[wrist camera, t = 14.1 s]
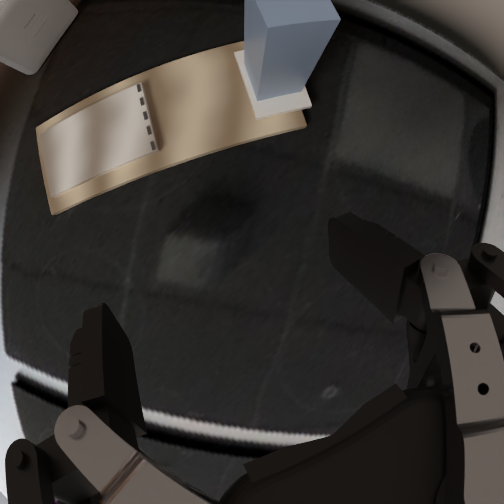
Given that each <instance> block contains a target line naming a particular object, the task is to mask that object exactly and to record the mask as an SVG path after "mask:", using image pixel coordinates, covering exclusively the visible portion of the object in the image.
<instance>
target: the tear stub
mask: <svg viewBox="0 0 504 504" xmlns="http://www.w3.org/2000/svg"><path fill="white" fill-rule="evenodd" d="M340 20H341V19H340V17H339V15H338V13H337V11H336V10H335V8H334V6H333V4H332V2H331V1H330V0H245V20H244V50H241V51H237V52H234V56H235V59H236V62H237V64H238V67H239V70H240V73H241V76H242V79H243V82H244V85H245V88H246V91H247V94H248V97H249V100H250V103H251V106H252V109H253V112H254V115H255V118H256V120H260V119H264V118H268V117H272V116H276V115H280V114H284V113H289V112H293V111H298V110H303V109H307V108H311V106H312V104H311V101H310V98H309V96H308V93H307V90H306V88H305V84H306V82H307V80H308V78H309V76H310V75H311V73H312V71H313V69H314V67H315V65H316V63H317V62H318V60H319V58H320V56H321V54H322V52H323V51H324V49H325V47H326V45H327V43H328V42H329V40H330V38H331V36H332V34H333V33H334V31H335V29H336V27H337V25H338V24H339V22H340Z"/></svg>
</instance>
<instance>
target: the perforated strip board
mask: <svg viewBox="0 0 504 504" xmlns="http://www.w3.org/2000/svg"><path fill="white" fill-rule="evenodd" d="M241 50H244V41H242V42H238V43H233V44H229V45H225V46H221V47H218V48H214V49H210V50H207V51H203V52H200V53H197V54H193V55H190V56H187V57H184V58H181V59H178V60H175V61H172V62H169V63H166V64H164V65H161V66H158V67H155V68H153V69H150V70H148V71H145V72H143V73H140V74H138V75H135V76H133V77H131V78H128V79H126V80H124V81H121V82H119V83H117V84H115V85H113V86H110V87H108V88H106V89H104V90H102V91H100V92H98V93H96V94H94V95H92V96H90V97H88V98H86V99H84V100H82V101H81V102H79V103H77V104H75V105H73V106H71V107H70V108H68V109H66V110H64V111H63V112H61V113H59V114H57V115H56V116H54V117H52V118H51V119H49V120H48V121H46V122H44V123H43V124H41V125H40V126H38V127H36V133H37V141H38V148H39V155H40V161H41V167H42V173H43V178H44V183H45V188H46V193H47V197H48V202H49V206H50V210H51V214H52V215H56V214H59V213H61V212H63V211H65V210H67V209H69V208H71V207H73V206H76V205H78V204H80V203H82V202H84V201H87V200H89V199H91V198H93V197H96V196H98V195H100V194H103V193H105V192H107V191H110V190H112V189H114V188H117V187H119V186H122V185H124V184H127V183H129V182H132V181H134V180H137V179H139V178H142V177H144V176H147V175H150V174H152V173H155V172H158V171H161V170H163V169H166V168H169V167H172V166H175V165H177V164H180V163H183V162H186V161H189V160H192V159H195V158H198V157H201V156H204V155H207V154H211V153H214V152H217V151H220V150H224V149H227V148H230V147H234V146H237V145H241V144H244V143H248V142H251V141H255V140H259V139H262V138H266V137H270V136H274V135H278V134H282V133H286V132H290V131H294V130H298V129H303V128H305V127H306V126H307V124H306V121H305V119H304V116H303V113H302V110H298V111H293V112H289V113H284V114H280V115H276V116H272V117H268V118H264V119H260V120H256V118H255V115H254V112H253V109H252V106H251V103H250V100H249V97H248V94H247V91H246V88H245V85H244V82H243V79H242V76H241V73H240V70H239V67H238V64H237V62H236V59H235V56H234V52H237V51H241Z"/></svg>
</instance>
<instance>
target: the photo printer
mask: <svg viewBox="0 0 504 504" xmlns="http://www.w3.org/2000/svg"><path fill="white" fill-rule="evenodd" d="M77 14H78V10H77V9H76V8H75V7H74V5H73V4H72V3H71V2H70V1H69V0H0V62H2V63H4V64H6V65H8V66H10V67H12V68H14V69H16V70H18V71H20V72H22V73H24V74H27V75H32V74H34V73H36V72H37V71H38V70H39V68H40V67H41V66H42V64H43V63H44V61H45V60H46V58H47V57H48V55H49V54H50V52H51V51H52V49H53V48H54V46H55V45H56V43H57V42H58V41H59V39H60V38H61V36H62V35H63V34H64V32H65V31H66V29H67V28H68V27H69V25H70V24H71V23H72V21H73V20H74V18H75V17H76V15H77Z"/></svg>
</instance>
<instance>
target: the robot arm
mask: <svg viewBox="0 0 504 504" xmlns="http://www.w3.org/2000/svg"><path fill="white" fill-rule="evenodd" d="M328 236H329V256H330V260H331V263H332V265H333V266H334V268H335V269H336V270H337V271H338V272H339V273H340V274H341V275H342V276H343V277H345V278H346V279H347V280H348V281H349V282H350V283H351V284H352V285H353V286H354V287H355V288H356V289H357V290H359V291H360V292H361V293H362V294H363V295H364V296H365V297H366V298H367V299H368V300H369V301H370V302H371V303H372V304H373V305H374V306H376V307H377V308H378V309H379V310H380V311H381V312H382V313H383V314H384V315H385V316H386V317H387V318H388V319H389V320H390V321H391V322H392V323H395V322H396V321H398V320H399V319H401V318H402V317H405V318H406V319H407V323H406V330H407V340H408V351H409V365H410V374H409V380H408V385H407V390H403V391H402V390H401V389H400V388H399V387H398V386H397V384H394V385H393V386H391V387H390V388H388V389H387V390H386V391H384V392H383V393H381V394H380V395H378V396H376V397H375V398H373V399H372V400H370V401H369V402H367V403H366V404H364V405H363V406H362V407H361V408H360V409H359V410H358V411H357V412H356V413H355V414H354V415H353V416H352V417H351V418H350V419H349V420H348V421H347V422H346V423H345V424H344V425H343V426H342V427H341V428H339V429H338V430H337V431H336V432H335V433H334V434H332V435H331V436H328V437H325V438H321V439H317V440H313V441H309V442H305V443H301V444H296V445H292V446H287V447H284V448H282V449H279V450H277V451H275V452H272V453H270V454H268V455H265V456H263V457H261V458H258V459H256V460H253V461H251V462H248V463H245V464H243V465H244V467H245V469H246V471H247V473H246V474H244V475H243V476H241V477H240V478H239V479H238V480H237V481H235V482H234V483H233V484H232V485H231V486H230V487H229V488H228V489H227V491H226V492H225V493H224V495H223V496H222V498H221V499H220V501H218V500H216V499H214V498H213V497H211V496H209V495H207V494H206V493H204V492H202V491H201V490H199V489H197V488H195V487H194V486H192V485H190V484H189V483H187V482H185V481H184V480H182V479H181V478H179V477H178V476H176V475H175V474H173V473H172V472H170V471H169V470H168V469H166V468H165V467H163V466H162V465H161V464H159V463H158V462H156V461H155V460H154V459H152V458H151V457H150V456H148V455H147V454H146V453H145V452H143V451H142V450H141V449H139V448H138V444H137V439H136V437H137V436H140V435H144V434H147V431H146V426H145V422H144V417H143V412H142V407H141V402H140V396H139V391H138V385H137V379H136V373H135V366H134V359H133V352H132V347H131V344H130V342H129V339H128V337H127V335H126V334H125V332H124V331H123V329H122V328H121V326H120V324H119V323H118V321H117V320H116V318H115V317H114V315H113V313H112V312H111V310H110V309H109V307H108V306H107V305H106V304H105V303H102V304H100V305H97V306H95V307H92V308H89V309H87V310H85V311H84V313H83V325H82V328H80V329H78V330H76V332H75V334H74V337H73V339H72V341H71V344H70V358H69V367H70V369H69V377H68V408H67V409H66V410H65V411H64V412H62V414H61V415H60V416H59V418H58V419H57V422H56V425H55V431H54V432H55V434H54V435H52V436H51V437H49V438H47V439H46V440H44V441H43V442H41V443H39V444H38V445H34V444H33V443H31V442H30V441H28V440H26V439H18V440H16V441H14V442H13V443H12V444H11V445H10V447H9V448H8V450H7V453H6V458H5V469H6V485H7V495H8V504H56V503H55V499H56V500H57V501H58V504H100V501H99V497H98V493H99V492H100V493H101V494H102V497H101V502H102V504H504V315H503V314H502V313H501V312H499V311H498V310H497V309H496V308H495V307H494V306H493V305H492V304H491V303H490V302H491V300H492V297H493V295H494V292H495V291H496V292H497V293H499V294H500V295H501V296H502V297H503V298H504V252H503V251H502V250H500V249H499V248H497V247H496V246H494V245H491V244H488V243H478V244H475V245H474V246H473V248H472V252H471V255H470V258H468V259H464V260H460V261H456V260H454V259H453V258H451V257H449V256H447V255H444V254H438V253H434V254H429V255H426V256H425V255H424V254H422V253H421V252H419V251H418V250H417V249H415V248H414V247H412V246H411V245H409V244H408V243H406V242H405V241H403V240H402V239H400V238H399V237H396V235H394V234H393V233H391V232H388V230H387V229H385V228H383V227H382V226H380V225H379V224H377V223H374V222H370V221H367V220H362V219H361V218H359V217H358V216H356V215H355V214H353V213H351V212H345V213H342V214H339V215H337V216H334V217H331V218H330V219H329V221H328Z"/></svg>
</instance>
